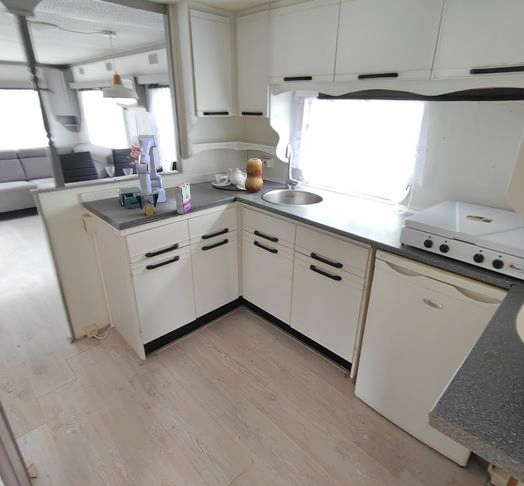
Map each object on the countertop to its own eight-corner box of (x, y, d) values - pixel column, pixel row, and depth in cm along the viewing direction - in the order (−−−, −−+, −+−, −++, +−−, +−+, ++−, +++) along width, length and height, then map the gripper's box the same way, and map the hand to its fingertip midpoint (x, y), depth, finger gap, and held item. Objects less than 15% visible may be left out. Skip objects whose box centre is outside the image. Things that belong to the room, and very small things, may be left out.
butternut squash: (249, 195, 235) (249, 160, 225) (241, 191, 246) (241, 157, 236) (266, 193, 241) (267, 159, 232) (257, 189, 252) (258, 156, 242)
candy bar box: (184, 208, 204) (182, 182, 197) (191, 209, 203) (189, 183, 196) (176, 213, 193) (174, 186, 187) (184, 214, 193) (182, 187, 186)
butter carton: (145, 213, 193) (144, 206, 192) (151, 212, 195) (150, 205, 193) (147, 215, 189) (146, 208, 188) (153, 215, 191) (152, 207, 189)
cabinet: (143, 203, 213) (141, 191, 209) (122, 206, 207) (120, 193, 204) (139, 198, 224) (137, 186, 221) (119, 200, 218) (117, 188, 215)
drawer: (146, 207, 201) (145, 198, 198) (127, 210, 195) (125, 200, 193) (141, 200, 215) (139, 191, 213) (122, 202, 210) (121, 193, 208)
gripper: (133, 187, 179) (136, 211, 184) (160, 185, 186) (162, 207, 191) (131, 185, 185) (134, 207, 190) (157, 182, 191) (159, 204, 196)
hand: (148, 207), depth 191 cm, fingers open, 7 cm apart
